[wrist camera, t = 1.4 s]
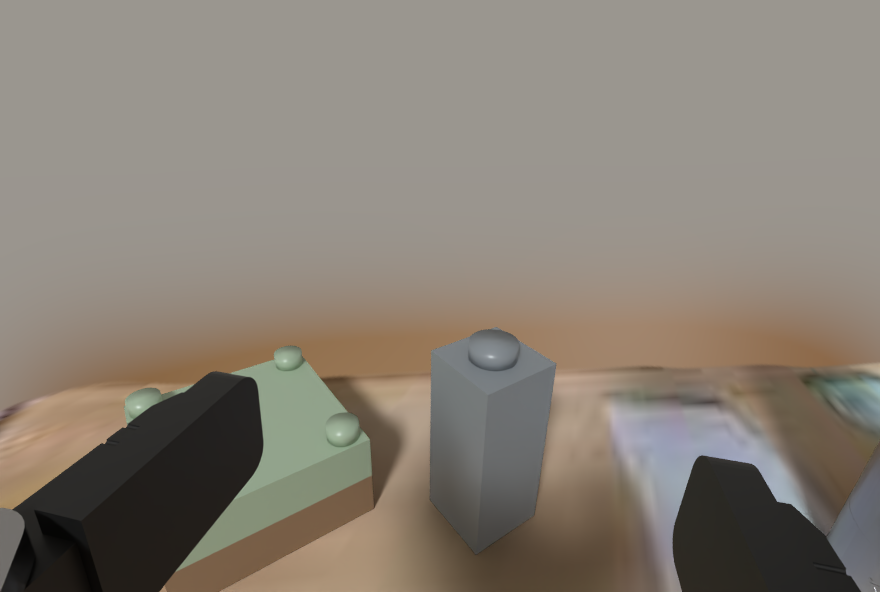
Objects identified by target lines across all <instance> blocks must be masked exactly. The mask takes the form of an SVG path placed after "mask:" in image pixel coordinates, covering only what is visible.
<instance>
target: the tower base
mask: <svg viewBox="0 0 880 592" xmlns="http://www.w3.org/2000/svg"><path fill="white" fill-rule="evenodd" d="M274 359H275V360H272V361H268V362H265V363H262V364H259V365H255V366H252V367H249V368H246V369H242V370H239V371H236V372H233V373H230V374H235V375H240V376H246V377H251V378H253V379H254V380H255V381H256V383H257V386H258V393H259V402H260V412H261V421H262V431H263V440H264V446H263V453H262V457H261V461H260V463H259V466H258V468H257V470H256V471H255V473H254V475H253V476H252V477H251V479H250V480H249V481H248V482H247V483H246V485H245V486H244V487H243V488H242V490H241V491H240V492H239V493H238V495H237V496H236V497H235V498H234V500H233V501H232V502H231V503H230V505H229V506H228V507H227V508H226V510H225V511H224V512H223V513H222V514H221V516H220V517H219V518H218V519H217V521H216V522H215V523H214V524H213V526H212V527H211V528H210V529H209V531H208V532H207V533H206V534H205V536H204V537H203V538H202V539H201V540H200V542H199V543H198V544H197V545H196V547H195V548H194V549H193V550H192V552H191V553H190V554H189V555H188V557H187V558H186V559H185V560H184V562H183V563H182V564H181V565H180V567H179V568H178V569H177V570H176V571H175V573H174V574H173V575H172V576H171V578H170V579H169V580H168V581H167V583H166V584H165V587H166V590H167V592H218V591H220V590H222V589H224V588H226V587H228V586H230V585H232V584H233V583H235V582H237V581H239V580H241V579H243V578H245V577H246V576H248V575H250V574H252V573H254V572H256V571H258V570H260V569H261V568H263V567H265V566H267V565H269V564H271V563H273V562H275V561H276V560H278V559H280V558H282V557H284V556H286V555H288V554H289V553H291V552H293V551H295V550H297V549H299V548H301V547H303V546H304V545H306V544H308V543H310V542H312V541H314V540H316V539H318V538H319V537H321V536H323V535H325V534H327V533H329V532H331V531H333V530H334V529H336V528H338V527H340V526H342V525H344V524H346V523H347V522H349V521H351V520H353V519H355V518H357V517H359V516H361V515H362V514H364V513H366V512H368V511H370V510H372V509H374V501H373V484H372V467H371V451H370V439H369V438H368V436H367V435H366V434H365V433H364V432H363V430H362V429H361V428H360V427H359V420H358V418H357V416H355V415H354V414H352V413H348V412H347V411H346V409H345V408H344V407H343V406H342V404H341V403H340V402H339V401H338V400H337V398H336V397H335V396H334V395H333V393H332V392H331V391H330V390H329V389H328V387H327V386H326V385H325V384H324V382H323V381H322V380H321V379H320V377H319V376H318V375H317V374H316V373H315V371H314V370H313V369H312V368H311V366H310V365H309V364H308V363H307V361H306V360H305V359H304V358H303V357H302V351H301V349H300V348H299V347H297V346H285V347H281V348H279V349H278V350H276V351H275V353H274ZM192 386H193V385H191V386H188V387H184V388H181V389H178V390H175V391H171V392H168V393H165V394H162V395H161V393H160V391H159V390H158V389H156V388H144V389H141V390H138V391H135V392H133V393H132V394H130V395H129V396H128V397H127V398H126V400H125V404H126V406H124V410H125V415H126V421H127V425H128V423H129V422H131V421H132V420H133V419H135V418H136V417H137V416H139V415H140V414H141V413H143V412H144V411H145V410H147V409H148V408H149V407H151V406H152V405H155V404H157V403H159V402H161V401H163V400H166V399H168V398H170V397H172V396H175V395H177V394H179V393H181V392H183V393H184V392H185V391H187V390H188V389H189V388H190V387H192Z"/></svg>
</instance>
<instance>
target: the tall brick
mask: <svg viewBox="0 0 880 592" xmlns="http://www.w3.org/2000/svg"><path fill="white" fill-rule="evenodd" d="M555 370H556V363H554V362H553V361H551V360H550V359H548V358H546V357H545V356H543V355H541V354H540V353H538V352H537V351H535V350H533V349H532V348H530V347H528V346H527V345H525V344H523V343H522V342H520V341H519V340H518V339H517V338H516V337H515V336H513V335H512V334H510V333H508V332H505V331H502V330H501V329H499V328H497V327H495V328H492V329H488V330H481V331H478V332H476V333H474V334H472V335H471V336H470V337H468V338H465V339H462V340H459V341H457V342H454V343H451V344H449V345H445V346H443V347H440V348H437V349H435V350H432V351H431V431H430V500H431V502H432V503H433V504H434V505H435V506H436V508H437V509H438V510H439V511H440V512H441V514H442V515H443V516H444V517H445V518H446V520H447V521H448V522H449V523H450V524H451V525H452V527H453V528H454V529H455V530H456V531H457V533H458V534H459V535H460V536H461V537H462V539H463V540H464V541H465V542H466V543H467V545H468V546H469V547H470V548H471V549H472V551H473V552H474V553H475V554H478V553H479V552H481V551H482V550H484V549H485V548H487V547H488V546H490V545H491V544H493V543H494V542H496V541H497V540H498V539H500V538H501V537H503V536H504V535H506V534H507V533H509V532H510V531H512V530H513V529H515V528H516V527H518V526H519V525H521V524H522V523H524V522H525V521H526V520H528V519H529V518H531V517H532V516H534V513H535V507H536V500H537V493H538V486H539V479H540V472H541V466H542V459H543V452H544V445H545V438H546V432H547V425H548V418H549V411H550V404H551V398H552V391H553V384H554V377H555Z"/></svg>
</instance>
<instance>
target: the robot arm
mask: <svg viewBox="0 0 880 592" xmlns="http://www.w3.org/2000/svg"><path fill="white" fill-rule="evenodd" d="M263 446H264V440H263V431H262V421H261V412H260V402H259V393H258V386H257V383H256V381H255V380H254V379H253V378H251V377H246V376H240V375H235V374H229V373H222V372H211V373H209V374H208V375H206V376H205V377H203V378H202V379H201V380H200V381H198V382H197V383H196V384H194V385H193V386H192V387H190V388H189V389H188V390H187V391H185V392H184V393H183V392H181V393H179V394H177V395H175V396H172V397H170V398H168V399H166V400H163V401H161V402H159V403H157V404H155V405H152V406H151V407H149V408H148V409H147V410H145V411H144V412H143V413H141V414H140V415H139V416H137V417H136V418H135V419H133V420H132V421H131V422H129V423H128V425H127V427H126V428H121V429H120V430H119V431H117V432H116V433H115V434H113V435H112V436H111V437H109V438H108V439H107V442H106V443H105V444H102V443H101V444H100V445H99V446H97V447H96V448H95V449H93V450H92V451H91V452H89V453H88V454H87V455H85V456H84V457H83V458H81V459H80V460H78V461H77V462H76V463H74V464H73V465H72V466H70V467H69V468H68V469H66V470H65V471H64V472H62V473H61V474H60V475H58V476H57V477H56V478H54V479H53V480H52V481H50V482H49V483H48V484H46V485H45V486H44V487H42V488H41V489H40V490H38V491H37V492H36V493H34V494H33V495H32V496H30V497H29V498H28V499H26V500H25V501H24V502H22V503H21V504H20V505H18V506H17V507H15V508H14V509H12V510H11V509H6V508H0V592H159V591H160V590H161V589H162V588H163V586H164V585H165V584H166V583H167V581H168V580H169V579H170V578H171V576H172V575H173V574H174V573H175V571H176V570H177V569H178V568H179V567H180V565H181V564H182V563H183V562H184V560H185V559H186V558H187V557H188V555H189V554H190V553H191V552H192V550H193V549H194V548H195V547H196V545H197V544H198V543H199V542H200V540H201V539H202V538H203V537H204V536H205V534H206V533H207V532H208V531H209V529H210V528H211V527H212V526H213V524H214V523H215V522H216V521H217V519H218V518H219V517H220V516H221V514H222V513H223V512H224V511H225V510H226V508H227V507H228V506H229V505H230V503H231V502H232V501H233V500H234V498H235V497H236V496H237V495H238V493H239V492H240V491H241V490H242V488H243V487H244V486H245V485H246V483H247V482H248V481H249V480H250V479H251V477H252V476H253V475H254V473H255V471H256V470H257V468H258V466H259V463H260V461H261V457H262V453H263ZM673 557H674V563H675V567H676V571H677V574H678V578H679V582H680V585H681V589H682V592H880V441H879V443H878V444H877V446H876V448H875V450H874V452H873V454H872V455H871V457H870V459H869V461H868V463H867V465H866V466H865V468H864V470H863V472H862V474H861V476H860V478H859V479H858V481H857V483H856V485H855V487H854V489H853V490H852V492H851V493H850V495H849V497H848V499H847V501H846V503H845V504H844V506H843V508H842V510H841V512H840V514H839V515H838V517H837V519H836V521H835V523H834V525H833V527H832V528H831V530H830V532H829V534H828V536H827V538H826V537H825V535H824V534H823V533H822V532H821V531H820V530H818V529H817V528H816V527H815V526H814V525H813V524H812V523H811V522H810V521H809V520H808V519H807V518H805V517H804V516H803V515H802V514H801V513H800V512H799V511H798V510H797V509H796V508H795V507H793V506H792V505H791V504H786V503H781V502H777V501H776V499H775V497H774V496H773V494H772V492H771V490H770V489H769V487H768V485H767V484H766V482H765V480H764V479H763V477H762V475H761V473H760V472H759V470H758V469H757V468H756V467H755V466H754V465H752V464H749V463H743V462H737V461H731V460H725V459H720V458H714V457H708V456H699V457H698V458H697V459H696V461H695V463H694V465H693V468H692V471H691V474H690V477H689V480H688V484H687V487H686V490H685V493H684V496H683V499H682V503H681V506H680V509H679V512H678V515H677V518H676V521H675V525H674V530H673Z"/></svg>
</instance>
